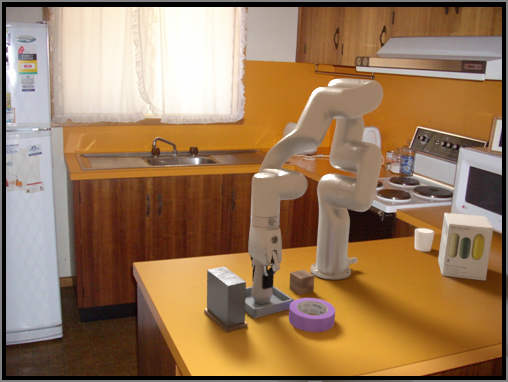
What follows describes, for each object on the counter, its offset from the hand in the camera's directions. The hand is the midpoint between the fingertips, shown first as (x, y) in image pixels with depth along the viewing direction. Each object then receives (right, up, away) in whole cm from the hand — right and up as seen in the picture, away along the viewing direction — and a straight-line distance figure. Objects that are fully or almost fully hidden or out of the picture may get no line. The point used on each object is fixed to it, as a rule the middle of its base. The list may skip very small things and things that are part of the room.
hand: (262, 283), depth 141 cm
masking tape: (+12, -9, -7) cm, 17 cm away
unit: (-10, -8, -8) cm, 15 cm away
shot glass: (+59, +4, +48) cm, 76 cm away
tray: (0, -6, +1) cm, 6 cm away
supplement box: (+65, -1, +29) cm, 71 cm away
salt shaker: (0, -5, +1) cm, 5 cm away
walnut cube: (+11, -4, +11) cm, 16 cm away
